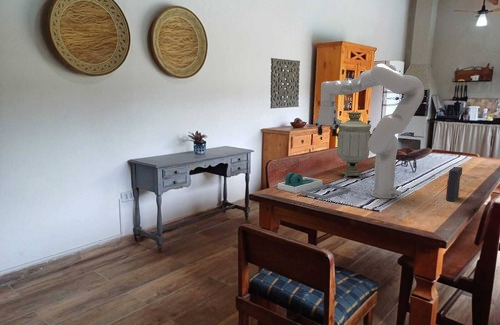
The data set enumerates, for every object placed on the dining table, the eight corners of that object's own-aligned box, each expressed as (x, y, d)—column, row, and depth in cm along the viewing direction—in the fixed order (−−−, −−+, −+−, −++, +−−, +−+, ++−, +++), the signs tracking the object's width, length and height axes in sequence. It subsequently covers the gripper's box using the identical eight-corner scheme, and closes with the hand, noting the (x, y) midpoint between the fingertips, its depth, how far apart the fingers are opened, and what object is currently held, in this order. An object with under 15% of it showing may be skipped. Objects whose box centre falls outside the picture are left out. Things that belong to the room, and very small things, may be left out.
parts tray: (322, 185, 205) (322, 180, 205) (294, 193, 190) (294, 187, 190) (305, 181, 215) (305, 176, 214) (277, 188, 199) (277, 183, 199)
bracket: (294, 189, 194) (294, 175, 193) (285, 187, 199) (285, 173, 198) (316, 184, 205) (316, 170, 204) (307, 182, 210) (307, 168, 209)
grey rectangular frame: (350, 191, 192) (350, 188, 192) (324, 199, 178) (324, 196, 177) (328, 186, 203) (328, 183, 203) (301, 193, 188) (301, 190, 188)
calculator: (450, 195, 181) (452, 166, 178) (459, 197, 178) (462, 167, 175) (445, 200, 172) (447, 169, 170) (455, 202, 170) (458, 170, 167)
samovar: (381, 173, 235) (384, 111, 228) (374, 181, 212) (377, 113, 205) (335, 169, 248) (337, 111, 241) (324, 177, 226) (326, 112, 218)
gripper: (345, 104, 194) (344, 136, 197) (319, 104, 207) (318, 134, 210) (337, 104, 189) (336, 137, 193) (310, 104, 202) (310, 135, 205)
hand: (327, 135), depth 201 cm, fingers open, 9 cm apart
